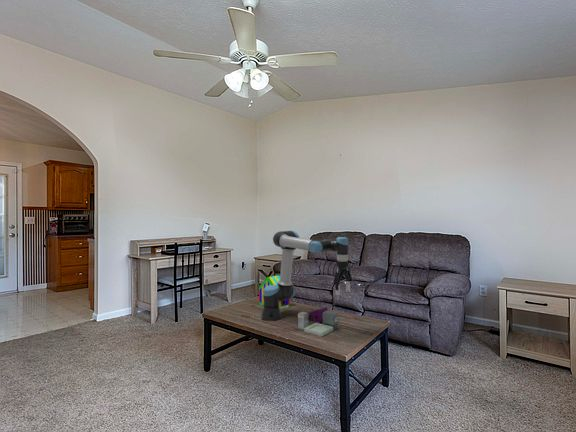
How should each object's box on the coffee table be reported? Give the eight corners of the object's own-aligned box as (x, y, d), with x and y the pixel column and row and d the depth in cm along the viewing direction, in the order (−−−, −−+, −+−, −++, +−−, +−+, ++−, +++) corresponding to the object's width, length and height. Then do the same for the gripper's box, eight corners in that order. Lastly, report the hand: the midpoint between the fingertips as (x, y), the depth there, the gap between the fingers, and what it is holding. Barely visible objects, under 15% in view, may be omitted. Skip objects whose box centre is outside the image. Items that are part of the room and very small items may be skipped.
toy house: (289, 306, 274) (289, 276, 273) (277, 310, 264) (276, 279, 264) (271, 301, 291) (270, 273, 291) (259, 304, 282) (258, 275, 282)
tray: (304, 331, 214) (304, 328, 214) (316, 326, 224) (316, 322, 224) (321, 336, 205) (321, 332, 205) (333, 330, 216) (333, 326, 216)
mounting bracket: (305, 327, 241) (321, 321, 229) (301, 315, 244) (317, 309, 231) (314, 324, 247) (330, 318, 235) (310, 313, 250) (326, 307, 238)
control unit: (322, 327, 223) (322, 312, 223) (326, 324, 227) (326, 310, 227) (334, 330, 217) (334, 314, 217) (338, 327, 221) (338, 313, 221)
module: (297, 328, 221) (297, 313, 221) (302, 326, 225) (302, 311, 225) (304, 329, 218) (303, 314, 218) (308, 327, 222) (308, 312, 222)
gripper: (337, 263, 204) (338, 297, 204) (356, 259, 223) (357, 290, 223) (327, 262, 209) (328, 295, 209) (347, 258, 228) (347, 288, 228)
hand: (343, 293), depth 216 cm, fingers open, 13 cm apart
